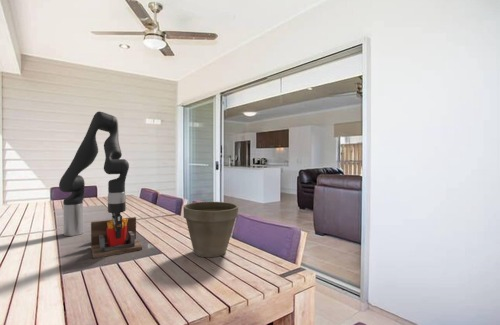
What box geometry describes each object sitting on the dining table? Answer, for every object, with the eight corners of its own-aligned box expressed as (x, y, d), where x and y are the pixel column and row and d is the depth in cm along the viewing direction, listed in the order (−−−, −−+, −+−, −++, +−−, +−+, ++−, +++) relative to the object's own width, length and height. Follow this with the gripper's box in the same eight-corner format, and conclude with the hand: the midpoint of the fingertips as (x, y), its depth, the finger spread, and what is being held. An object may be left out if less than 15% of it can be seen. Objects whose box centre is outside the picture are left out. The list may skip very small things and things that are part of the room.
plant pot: (245, 246, 133) (245, 202, 132) (224, 265, 109) (224, 212, 109) (200, 241, 141) (200, 199, 140) (172, 258, 118) (172, 208, 117)
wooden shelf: (91, 247, 131) (90, 221, 131) (135, 240, 142) (135, 216, 142) (93, 258, 117) (93, 229, 117) (142, 249, 128) (142, 223, 128)
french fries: (109, 250, 123) (109, 221, 122) (105, 248, 125) (105, 220, 125) (129, 245, 130) (129, 218, 129) (125, 243, 132) (125, 217, 132)
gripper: (128, 203, 123) (128, 238, 123) (123, 199, 135) (123, 231, 135) (109, 204, 119) (109, 241, 119) (106, 200, 131) (106, 233, 131)
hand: (117, 236), depth 127 cm, fingers open, 8 cm apart
